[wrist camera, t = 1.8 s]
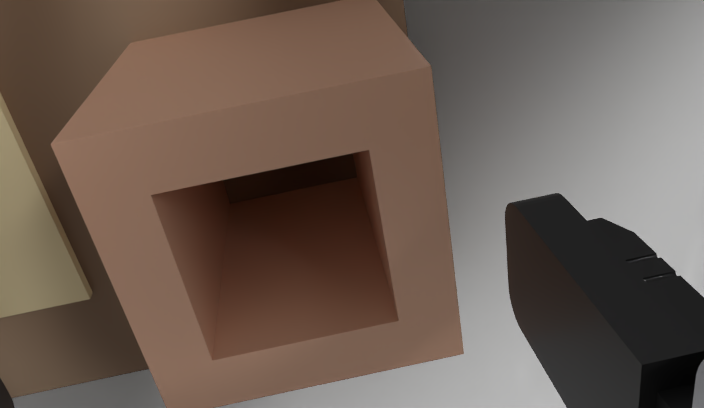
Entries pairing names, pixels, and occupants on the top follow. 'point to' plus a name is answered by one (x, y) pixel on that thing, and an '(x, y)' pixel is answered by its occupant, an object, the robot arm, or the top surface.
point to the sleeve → (269, 203)
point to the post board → (53, 190)
